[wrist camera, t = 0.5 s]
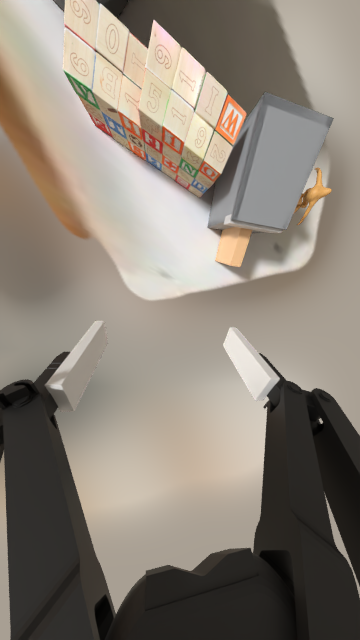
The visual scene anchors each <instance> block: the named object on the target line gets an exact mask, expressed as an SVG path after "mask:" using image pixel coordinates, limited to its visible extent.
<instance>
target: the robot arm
mask: <svg viewBox="0 0 360 640" xmlns="http://www.w3.org/2000/svg"><path fill="white" fill-rule="evenodd" d="M54 1H55V2H56V3H57V4H58V5H59V6H60V7H61V8H62V9H63V10H64V11H65V0H54ZM96 1H97V2H98V3H99V4H100V3H101V4H102V5H103V6H104V7H105V8H106V9H107V10H108V11H110V12H111V13H112V14H113V15H114V16H115V17H117V16H118V15H119V14H120V13H121V12H122V10H123V9H124V7H125V5H126V3H127V1H128V0H96ZM107 344H108V340H107V334H106V329H105V323H104V321H95V322H94V323H93V325H92V326H91V327H90V328H89V330H88V331H87V332H86V333H85V335H84V336H83V337H82V339H81V340H80V341H79V342H78V344H77V345H76V346H75V347H74V349H73V350H72V351H71V352H63V353H62V354H60V355H58V356H57V357H56V358H55V359H54V360H53V361H52V363H51V364H50V365H49V366H48V367H47V369H45V371H44V372H43V373H42V374H41V375H40V376H39V377H38V379H37V380H36V381H35V382H34V383H33V382H32V381H31V380H20V381H17V382H14V383H12V384H10V385H8V386H6V387H4V388H3V389H2V390H0V461H1V458H2V455H3V451H4V458H5V487H6V513H7V514H6V515H7V542H8V568H9V569H8V570H9V595H10V596H9V597H10V624H11V640H360V598H359V594H358V590H357V585H356V582H355V578H354V575H353V572H352V569H351V567H350V566H349V564H348V562H347V560H346V558H345V557H344V556H343V555H342V554H341V553H340V552H339V550H338V549H337V547H336V545H335V542H334V539H333V534H332V529H331V524H330V519H329V514H328V509H327V504H326V499H325V495H326V498H327V500H328V503H329V506H330V508H331V511H332V513H333V516H334V519H335V522H336V524H337V527H338V530H339V532H340V535H341V537H342V540H343V543H344V546H345V548H346V551H347V554H348V556H349V559H350V561H351V564H352V567H353V570H354V572H355V574H356V578H357V580H358V583H359V586H360V436H359V434H358V433H357V431H356V430H355V429H354V427H353V426H352V424H351V422H350V421H349V420H348V418H347V417H346V415H345V414H344V412H343V411H342V410H341V408H340V406H339V405H338V403H337V402H336V400H335V399H334V398H333V397H332V396H331V395H330V394H328V393H327V392H325V391H323V390H321V389H317V388H316V389H314V390H312V392H309V391H305V390H302V389H301V388H300V387H299V386H298V385H296V384H295V383H293V382H290V381H286V380H285V378H284V377H283V376H282V375H281V374H280V373H279V372H278V370H276V368H275V367H273V365H272V364H271V363H270V362H269V361H268V359H267V358H266V357H265V356H263V355H262V354H261V353H258V352H257V351H256V350H255V349H254V347H253V346H252V345H251V344H250V343H249V342H248V340H247V339H246V338H245V337H244V336H243V334H242V333H241V332H240V331H239V330H238V329H237V327H230V329H229V331H228V334H227V337H226V339H225V342H224V344H223V346H224V348H225V350H226V352H227V353H228V355H229V357H230V358H231V360H232V362H233V364H234V365H235V367H236V369H237V370H238V372H239V374H240V376H241V377H242V379H243V381H244V383H245V384H246V386H247V388H248V389H249V391H250V393H251V395H252V396H253V398H254V400H255V401H257V400H264V399H265V397H266V396H267V397H268V398H269V401H268V402H267V403H266V404H265V406H264V408H266V407H267V422H266V438H265V454H264V455H265V457H264V471H263V472H264V473H263V487H262V504H261V516H260V521H259V523H258V526H257V528H256V532H255V538H254V551H253V553H252V552H251V548H240V549H228V550H223V551H220V552H216V553H212V554H210V555H209V556H208V557H207V558H206V559H205V560H203V561H202V562H201V563H200V564H199V565H198V566H197V567H196V568H195V569H194V570H192V571H188V570H184V569H181V568H177V567H173V566H170V565H166V566H162V567H159V568H155V569H151V570H147V571H146V574H145V575H144V576H143V577H142V578H141V579H139V581H138V582H137V583H136V584H135V585H134V586H133V587H132V589H131V590H130V591H129V593H128V594H127V596H126V597H125V599H124V601H123V602H122V604H121V606H120V608H119V610H118V612H117V614H116V613H115V610H114V606H113V603H112V600H111V596H110V593H109V590H108V586H107V583H106V580H105V577H104V574H103V571H102V568H101V565H100V563H99V561H98V559H97V557H96V554H95V551H94V548H93V544H92V541H91V538H90V534H89V531H88V527H87V524H86V520H85V517H84V513H83V510H82V507H81V503H80V500H79V496H78V493H77V489H76V486H75V483H74V480H73V476H72V472H71V469H70V466H69V462H68V459H67V455H66V452H65V448H64V445H63V442H62V438H61V435H60V432H59V428H58V424H57V421H56V418H55V415H54V412H55V411H56V409H57V408H59V410H60V412H68V411H69V412H70V411H75V409H76V406H77V405H78V403H79V401H80V399H81V397H82V394H83V393H84V390H85V388H86V386H87V384H88V382H89V380H90V378H91V376H92V374H93V372H94V370H95V368H96V366H97V364H98V362H99V360H100V358H101V356H102V354H103V352H104V350H105V348H106V346H107ZM320 418H321V419H322V421H323V423H322V424H321V423H320V422H319V419H320ZM324 492H325V494H324Z"/></svg>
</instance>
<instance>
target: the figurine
mask: <svg viewBox="0 0 360 640" xmlns="http://www.w3.org/2000/svg"><path fill="white" fill-rule="evenodd" d="M315 169H316V170H317V181H316V185H315V186H314V187H313V188H309V189H307V190H306V192H305V193H304V194H301V197H300V199H299V201H298V204H297V206H296V208H295V211H294V213H295V212H296V211H297V210H298V209H299V208H300V207H301V208H305V207H306V206H307V204H308V202H309V206H308V208H307V210H306V212H305V214H304V216H303V217H302V219H301V220H300V222H299V224H301V223H302V222H303V220H304V218H305V217H306V216H307V215H308V213H309V212H310V210H311V208H312V207H313V205H314V204H315V203H316V202H317V201H318V200H319V199H320V198H322V197H324V196H326V195H328V194H330V193H331V191H332V190H331V189H329V188H325V187H323V185H322V180H321V179H322V172H321V170H320V168H315ZM302 198H303V202H302ZM301 203H302V204H301ZM294 213H293V214H294ZM299 224H297V225H299Z"/></svg>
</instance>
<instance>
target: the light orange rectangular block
mask: <svg viewBox="0 0 360 640" xmlns="http://www.w3.org/2000/svg"><path fill="white" fill-rule="evenodd" d="M251 233H252V230H250V229H245V228H240V227H232V228H227V229H223V230H222V234H221V239H220V243H219V247H218V252H217V256H216V260H215V261H218V262H221V263H224V264H227V265H230V266H237V267H241V264H242V261H243V258H244V255H245V251H246V248H247V245H248V242H249V239H250V236H251Z"/></svg>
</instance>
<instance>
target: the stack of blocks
mask: <svg viewBox="0 0 360 640" xmlns="http://www.w3.org/2000/svg"><path fill="white" fill-rule="evenodd" d="M64 24H65V30H64V55H63V70H64V72H65V74H66V76H67V78H68V80H69V81H70V83H71V85H72V87H73V89H74V90H75V92H76V94H77V95H78V96H79V98H80V100H81V101H82V103H83V105H84V107H85V109H86V110H87V112H88V113H89V115H90V117H91V119H92V121H93V123H94V124H95V126H96V127H98V128H100V129H101V130H103V131H104V132H106V133H107V134H108V135H110V136H111V137H113V138H114V139H115V140H116V141H118V142H119V143H121V144H122V145H124V146H125V147H127V148H128V149H130V150H131V151H132V152H134V153H135V154H137V155H138V156H139V157H141V158H142V159H144V160H145V161H148V162H149V163H150V164H152V165H153V166H155V167H156V168H158V169H159V170H161V171H162V172H164V173H165V174H167V175H168V176H170V177H171V178H173V179H174V180H175V181H176V182H178V183H179V184H180V185H182V186H183V187H185V188H186V189H188V190H189V191H190V192H192V193H193V194H195V195H196V196H197V197H199V198H200V197H201V196H202V195H203V194H204V193H205V192H206V191H207V190H208V188H210V187H211V186H212V185H213V184H214V183H215V180H216V179H217V178H218V177H219V176H220V175H221V174H222V171H223V169H224V167H225V164H226V162H227V160H228V157H229V155H230V153H231V151H232V148H233V147H232V146H233V145H234V143H235V141H236V139H237V136H238V134H239V132H240V129H241V127H242V125H243V122H244V120H245V117H246V115H247V113H246V112H245V111H244V110H243V109H242V108H241V107H240V106H239V105H238V104H237V103H236V102H235V101H234V100H233V99H232V98H231V97H230V96H229V95H228V94H227V90H226V89H225V88H224V87H223V86H222V85H221V84H220V83H219V82H218V81H217V80H216V79H215V78H214V77H213V76H212V75H211V74H209V73H208V72H205V68H204V67H203V66H202V65H201V64H200V63H199V62H198V61H197V60H196V59H195V58H194V57H193V56H192V55H191V54H190V53H189V52H188V51H187V50H186V49H185V48H181V46H180V44H179V43H178V42H177V41H176V40H175V39H174V38H172V37H171V36H170V35H169V34H168V33H167V32H166V31H165V30H164V29H163V28H162V27H161V26H160V25H159V24H158V23H157V22H156V21H155V20H153V26H152V31H151V37H150V43H149V48H146V47H145V46H144V45H143V44H142V43H141V42H140V41H139V40H138V39H137V38H136V37H135V36H134V35H133V34H131V33H130V31H129V29H128V28H127V27H126V26H124V25H123V24H122V23H121V22H120V21H119V20H118V19H117V18H116V17H115V16H114V15H113V14H112V13H111V12H110V11H108V10H107V9H106V8H105V7H104V6H103V5H102V4H101V3H100V4H99V3H98V2H97V1H96V0H65V11H64Z"/></svg>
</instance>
